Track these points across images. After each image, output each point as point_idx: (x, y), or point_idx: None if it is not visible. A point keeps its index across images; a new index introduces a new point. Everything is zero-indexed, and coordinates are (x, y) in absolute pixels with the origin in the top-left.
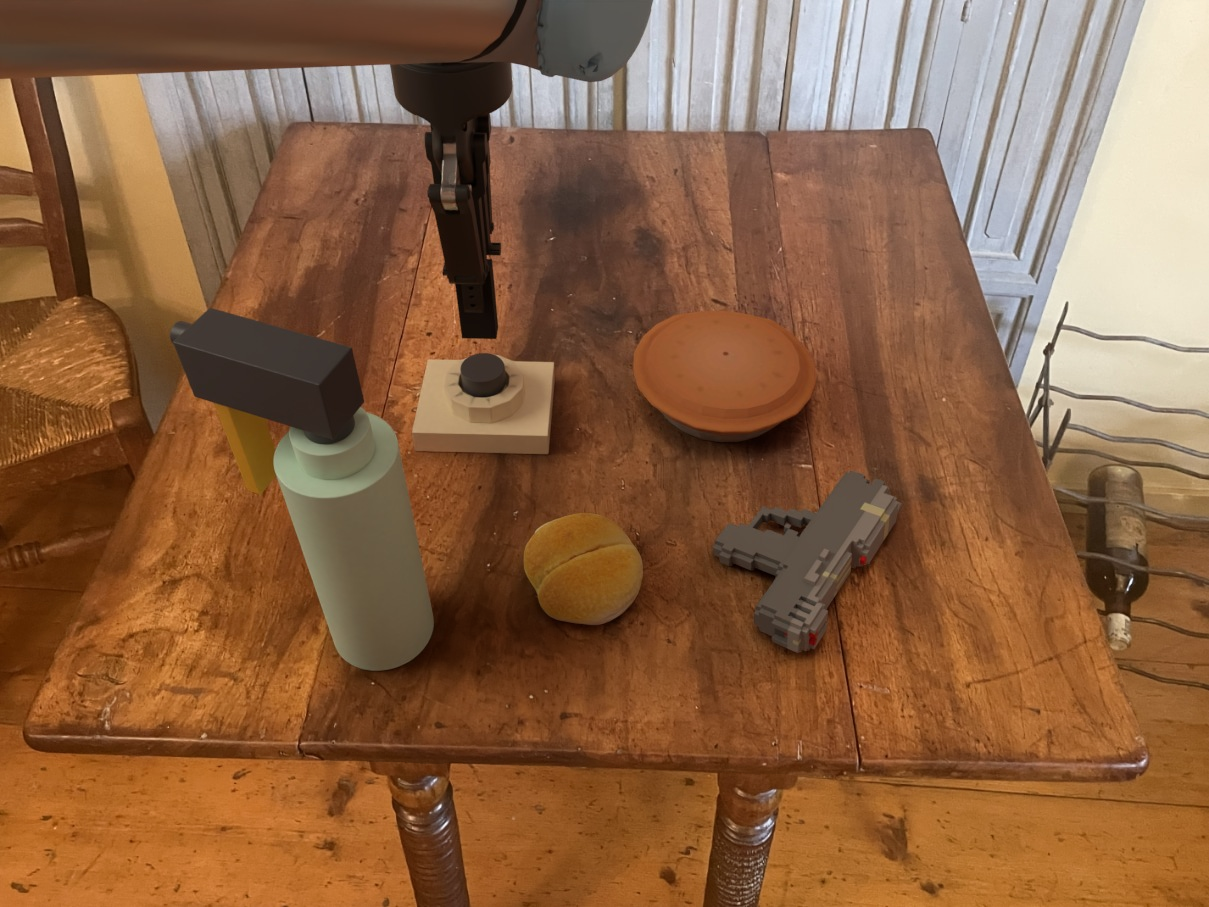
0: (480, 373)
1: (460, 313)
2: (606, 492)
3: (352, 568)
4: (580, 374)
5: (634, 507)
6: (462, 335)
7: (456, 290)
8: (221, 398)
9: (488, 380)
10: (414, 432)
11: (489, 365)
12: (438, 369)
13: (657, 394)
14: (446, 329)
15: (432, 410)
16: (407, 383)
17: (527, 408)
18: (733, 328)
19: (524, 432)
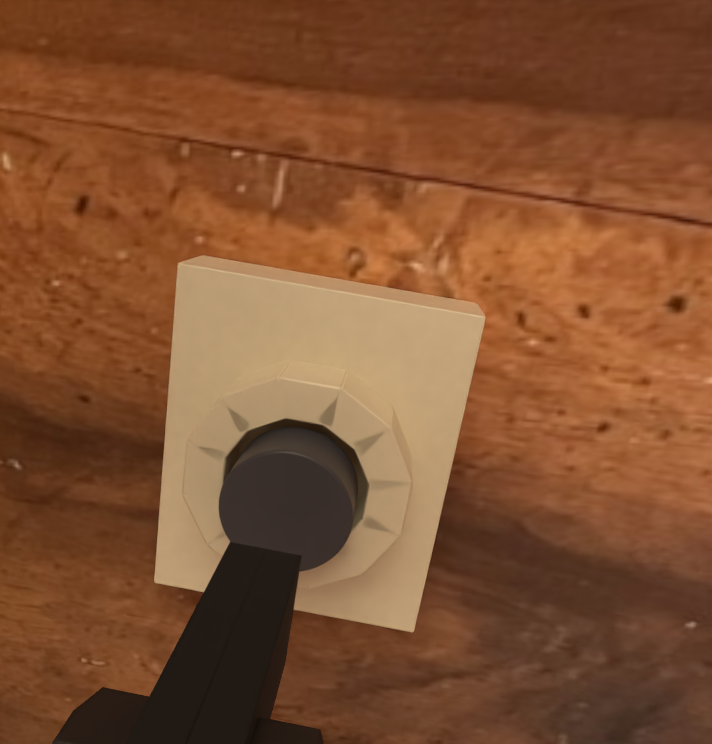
0: (256, 506)
1: (189, 629)
2: (72, 631)
3: None
4: (426, 645)
5: (36, 669)
6: (227, 551)
7: (131, 738)
8: None
9: (222, 524)
10: (177, 270)
11: (291, 533)
12: (433, 345)
13: None
14: (685, 354)
15: (261, 322)
16: (467, 237)
17: None
18: None
19: (164, 537)
